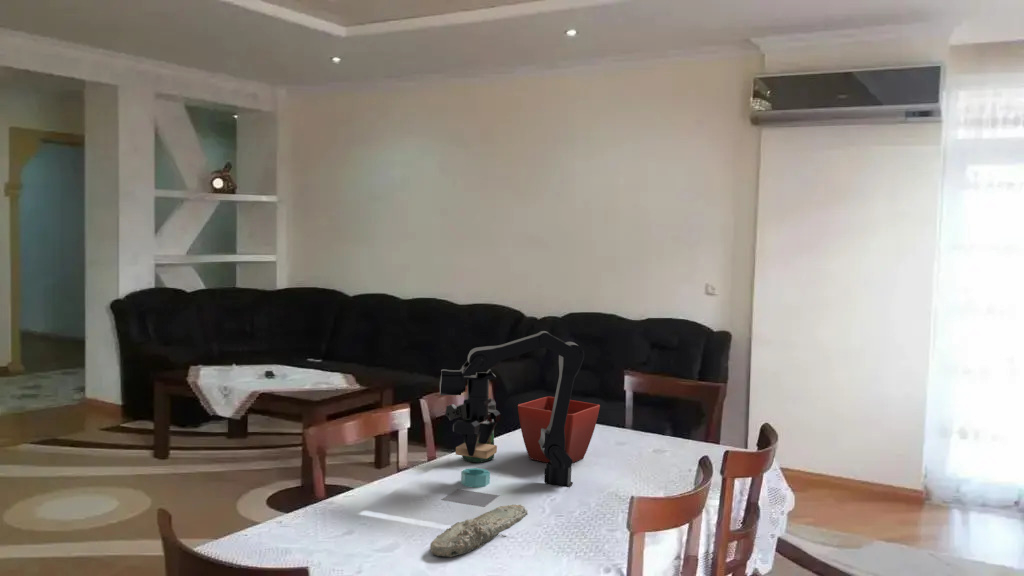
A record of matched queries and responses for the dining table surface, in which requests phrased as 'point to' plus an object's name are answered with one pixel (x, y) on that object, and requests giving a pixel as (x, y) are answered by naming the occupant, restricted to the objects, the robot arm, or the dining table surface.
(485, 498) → the mat
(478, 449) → the lid
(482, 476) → the bowl
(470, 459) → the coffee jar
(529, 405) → the plant pot
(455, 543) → the long grey stone
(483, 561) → the dining table surface
